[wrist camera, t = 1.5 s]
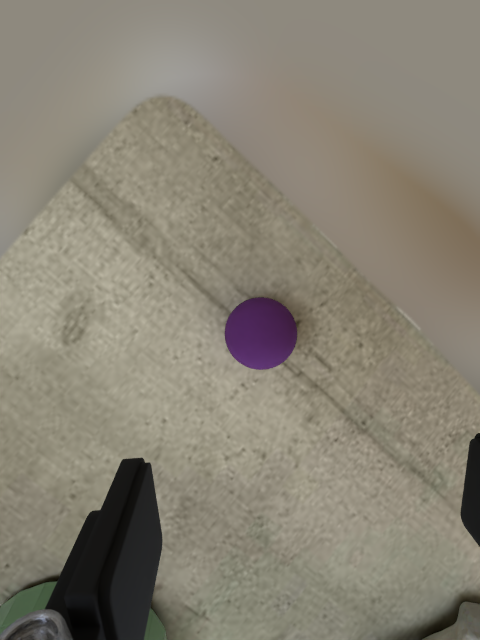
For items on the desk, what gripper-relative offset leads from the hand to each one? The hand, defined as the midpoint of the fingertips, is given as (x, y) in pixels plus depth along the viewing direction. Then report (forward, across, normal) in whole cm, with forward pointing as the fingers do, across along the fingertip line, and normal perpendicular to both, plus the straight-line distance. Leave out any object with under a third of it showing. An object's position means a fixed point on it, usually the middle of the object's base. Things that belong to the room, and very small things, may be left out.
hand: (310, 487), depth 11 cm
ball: (+13, 0, 0) cm, 13 cm away
